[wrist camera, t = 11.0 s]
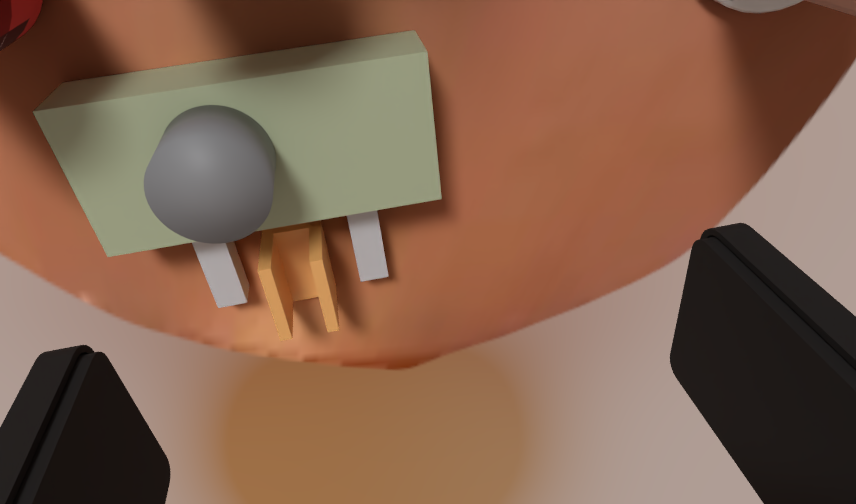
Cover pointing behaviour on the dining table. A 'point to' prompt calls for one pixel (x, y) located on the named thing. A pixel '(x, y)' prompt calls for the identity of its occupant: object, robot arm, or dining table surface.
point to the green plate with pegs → (250, 149)
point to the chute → (297, 273)
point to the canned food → (17, 19)
